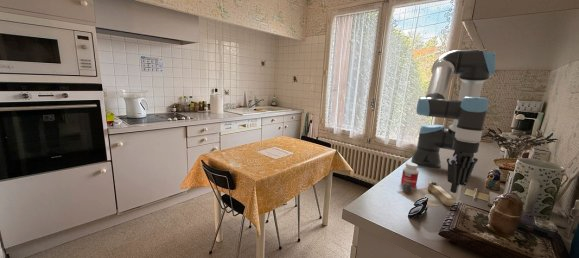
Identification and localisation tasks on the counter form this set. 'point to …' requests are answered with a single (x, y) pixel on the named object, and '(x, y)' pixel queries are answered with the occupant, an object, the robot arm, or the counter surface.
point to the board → (421, 195)
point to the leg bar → (441, 194)
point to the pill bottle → (410, 174)
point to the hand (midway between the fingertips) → (453, 199)
